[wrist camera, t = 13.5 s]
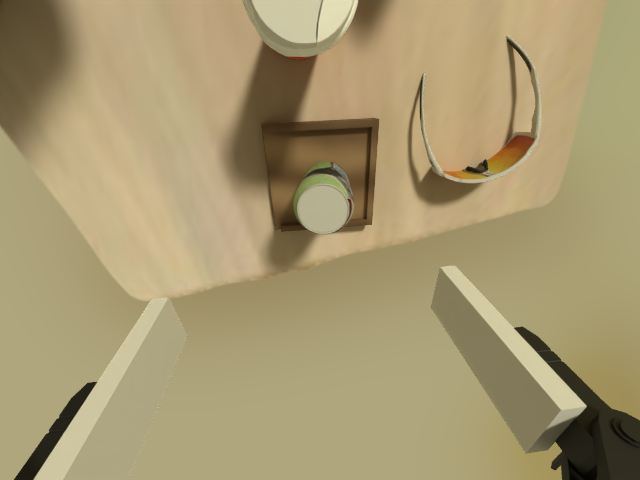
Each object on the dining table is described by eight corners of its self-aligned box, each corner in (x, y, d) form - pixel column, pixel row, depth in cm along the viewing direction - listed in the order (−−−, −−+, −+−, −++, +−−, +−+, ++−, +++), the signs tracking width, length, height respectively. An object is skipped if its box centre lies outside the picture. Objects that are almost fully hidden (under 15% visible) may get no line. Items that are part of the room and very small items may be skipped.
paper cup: (284, -44, 24) (275, -180, 12) (347, 16, 27) (392, -48, 15) (247, 41, 27) (210, -2, 15) (307, 87, 30) (318, 82, 18)
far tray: (262, 123, 31) (260, 125, 30) (374, 118, 32) (379, 119, 31) (276, 226, 38) (275, 231, 37) (368, 219, 39) (371, 224, 38)
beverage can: (335, 209, 37) (351, 254, 26) (286, 191, 35) (282, 232, 24) (355, 168, 34) (381, 200, 24) (303, 145, 32) (307, 170, 22)
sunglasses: (426, 192, 38) (443, 200, 33) (399, 83, 33) (415, 74, 28) (523, 154, 37) (554, 157, 32) (512, 33, 31) (547, 15, 26)
